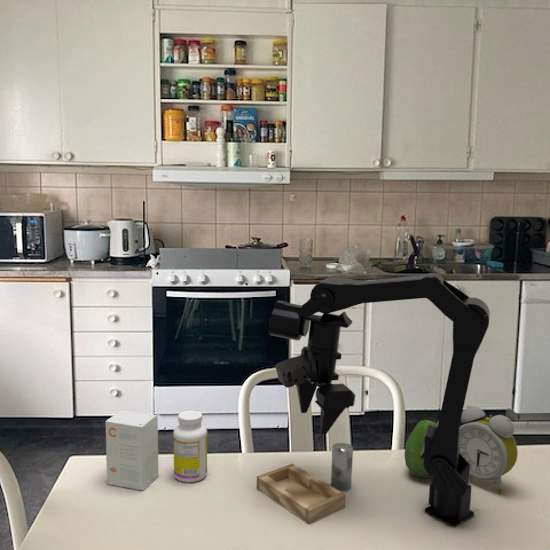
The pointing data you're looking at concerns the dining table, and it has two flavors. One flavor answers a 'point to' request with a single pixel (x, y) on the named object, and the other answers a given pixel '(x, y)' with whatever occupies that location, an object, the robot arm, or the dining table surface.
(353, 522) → the dining table surface
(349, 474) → the grey metal peg
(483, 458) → the alarm clock
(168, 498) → the dining table surface
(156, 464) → the small box
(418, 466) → the avocado
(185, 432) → the supplement bottle
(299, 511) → the light brown wooden tray
